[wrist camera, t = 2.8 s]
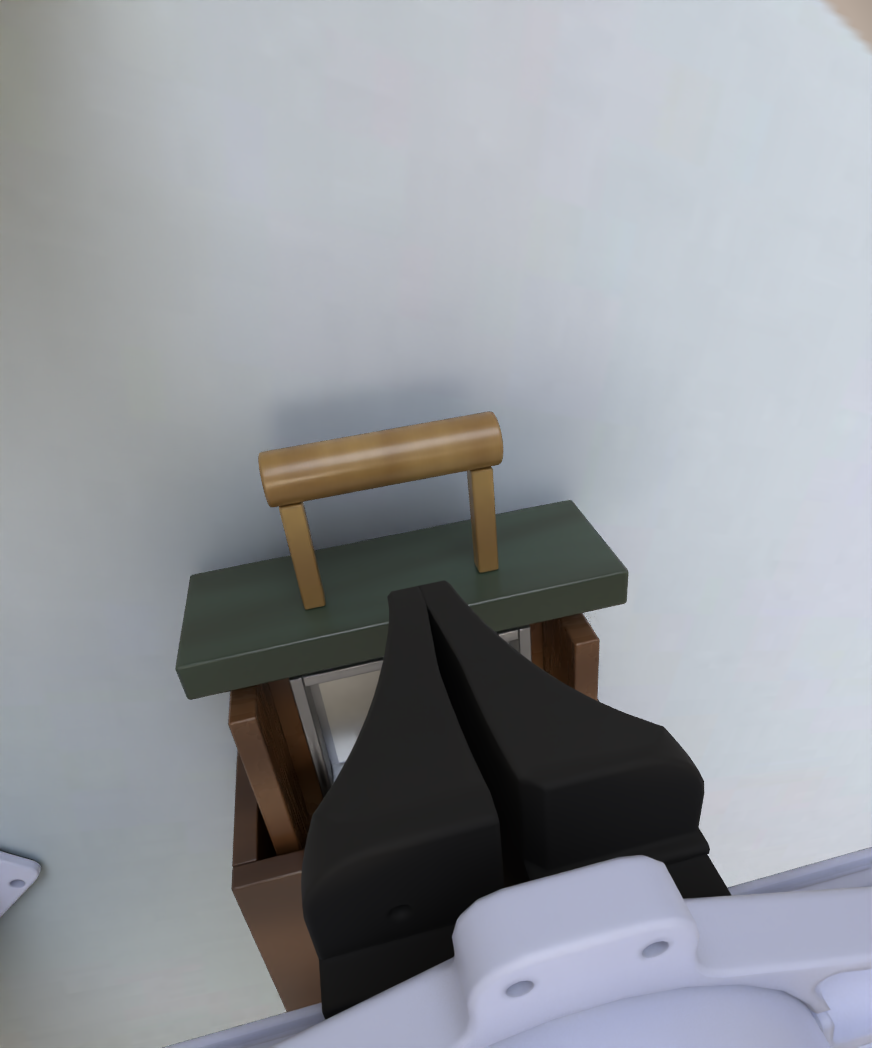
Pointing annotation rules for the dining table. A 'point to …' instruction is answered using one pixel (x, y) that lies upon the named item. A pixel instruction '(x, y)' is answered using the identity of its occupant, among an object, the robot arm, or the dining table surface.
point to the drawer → (381, 593)
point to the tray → (351, 706)
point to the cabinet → (273, 901)
